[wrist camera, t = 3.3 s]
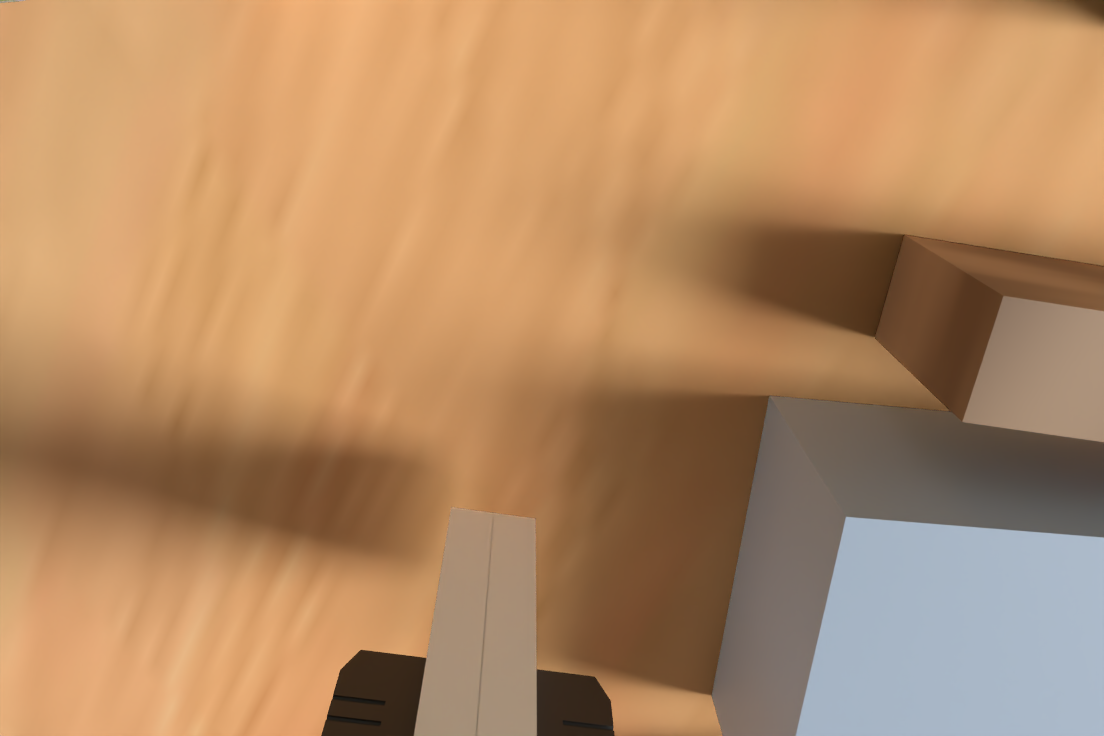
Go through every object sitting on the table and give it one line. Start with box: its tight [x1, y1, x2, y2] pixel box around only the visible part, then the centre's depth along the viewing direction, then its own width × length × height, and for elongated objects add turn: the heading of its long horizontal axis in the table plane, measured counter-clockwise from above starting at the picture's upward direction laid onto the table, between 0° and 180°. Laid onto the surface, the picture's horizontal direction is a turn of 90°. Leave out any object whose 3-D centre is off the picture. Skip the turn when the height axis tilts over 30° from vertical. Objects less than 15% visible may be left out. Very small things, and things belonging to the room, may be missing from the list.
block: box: [712, 396, 1104, 736], centre depth 19 cm, size 7×7×5 cm
